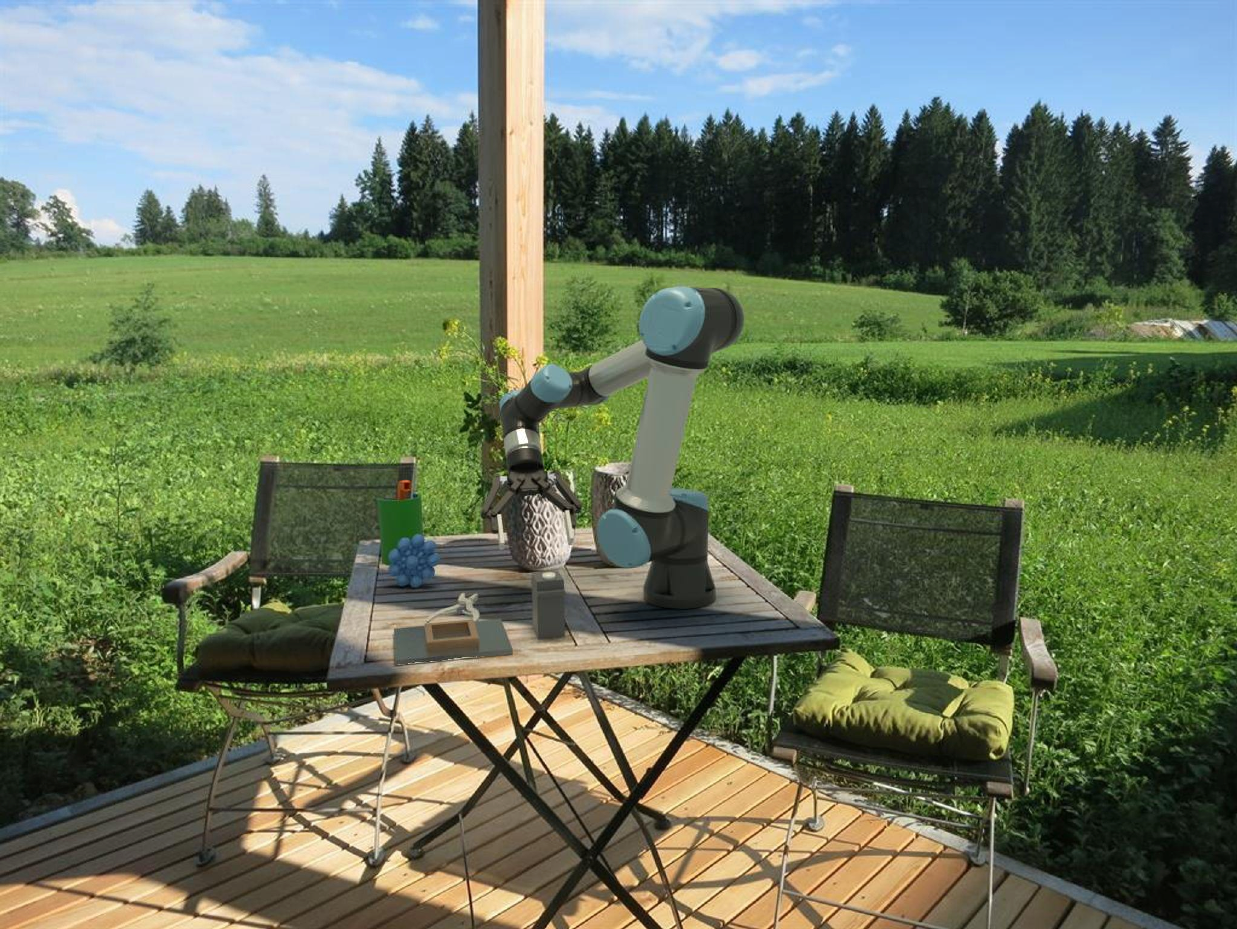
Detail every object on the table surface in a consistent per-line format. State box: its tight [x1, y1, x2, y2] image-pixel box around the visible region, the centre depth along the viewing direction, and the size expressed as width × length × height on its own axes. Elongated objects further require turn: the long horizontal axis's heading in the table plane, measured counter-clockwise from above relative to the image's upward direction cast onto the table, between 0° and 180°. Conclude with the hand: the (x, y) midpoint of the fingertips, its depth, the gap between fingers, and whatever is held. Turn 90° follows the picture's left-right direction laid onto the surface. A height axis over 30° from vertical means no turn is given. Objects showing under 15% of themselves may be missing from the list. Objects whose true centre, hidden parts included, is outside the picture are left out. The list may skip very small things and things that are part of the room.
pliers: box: [425, 592, 480, 624], centre depth 180 cm, size 10×2×15 cm
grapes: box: [387, 534, 441, 589], centre depth 195 cm, size 12×7×12 cm, turn 86°
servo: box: [530, 570, 566, 641], centre depth 166 cm, size 5×8×12 cm, turn 15°
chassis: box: [393, 618, 514, 667], centre depth 162 cm, size 20×16×2 cm
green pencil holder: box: [377, 479, 424, 566], centre depth 215 cm, size 10×9×20 cm
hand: (536, 544), depth 174 cm, fingers open, 13 cm apart
